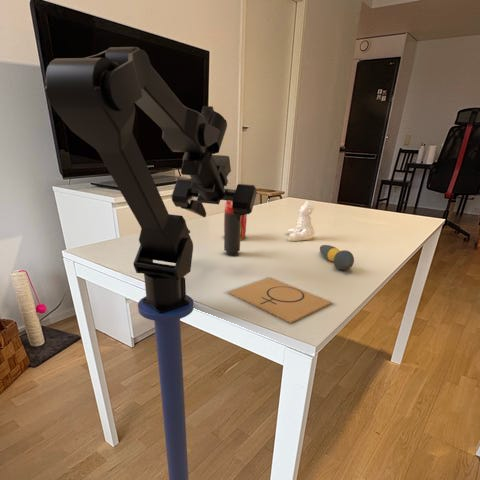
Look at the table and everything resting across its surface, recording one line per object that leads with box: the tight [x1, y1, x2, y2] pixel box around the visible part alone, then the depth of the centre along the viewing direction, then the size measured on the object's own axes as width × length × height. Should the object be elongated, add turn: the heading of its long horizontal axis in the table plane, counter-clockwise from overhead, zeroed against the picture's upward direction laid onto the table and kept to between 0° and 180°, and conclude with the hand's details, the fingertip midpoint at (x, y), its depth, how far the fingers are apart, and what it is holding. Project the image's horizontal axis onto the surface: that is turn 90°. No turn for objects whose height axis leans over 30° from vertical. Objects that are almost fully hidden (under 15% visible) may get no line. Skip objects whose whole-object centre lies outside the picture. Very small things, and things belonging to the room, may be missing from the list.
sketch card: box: [228, 277, 332, 324], centre depth 71 cm, size 13×17×1 cm
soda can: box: [223, 200, 248, 240], centre depth 108 cm, size 7×7×12 cm
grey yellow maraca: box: [319, 244, 355, 271], centre depth 92 cm, size 20×5×5 cm, turn 14°
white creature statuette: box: [287, 200, 316, 242], centre depth 111 cm, size 10×9×12 cm
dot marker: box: [223, 205, 241, 257], centre depth 93 cm, size 4×4×13 cm
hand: (222, 217), depth 84 cm, fingers open, 9 cm apart
